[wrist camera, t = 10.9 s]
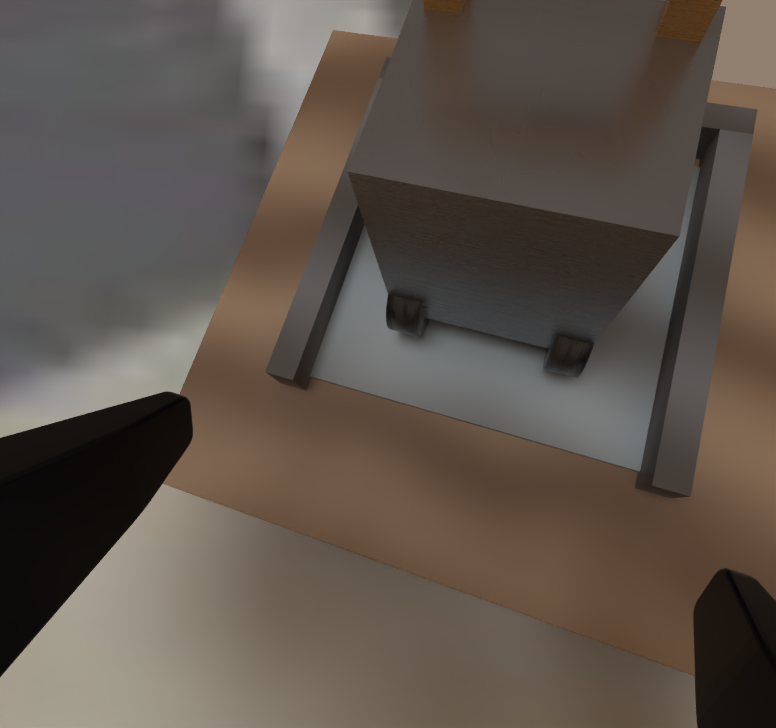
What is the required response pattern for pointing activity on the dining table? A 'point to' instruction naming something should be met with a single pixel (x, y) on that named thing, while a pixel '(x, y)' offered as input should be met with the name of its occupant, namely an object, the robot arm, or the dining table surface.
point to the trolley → (533, 162)
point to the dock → (503, 396)
